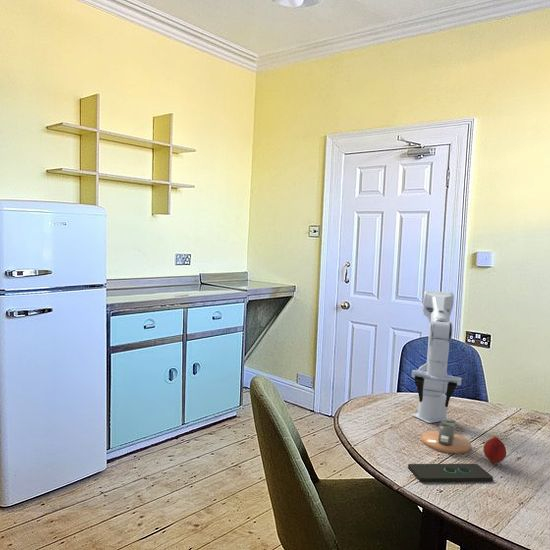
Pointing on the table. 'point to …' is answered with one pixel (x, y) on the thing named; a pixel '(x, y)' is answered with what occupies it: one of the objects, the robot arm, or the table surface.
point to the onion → (494, 450)
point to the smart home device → (450, 473)
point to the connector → (446, 432)
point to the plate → (457, 447)
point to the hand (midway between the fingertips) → (433, 403)
